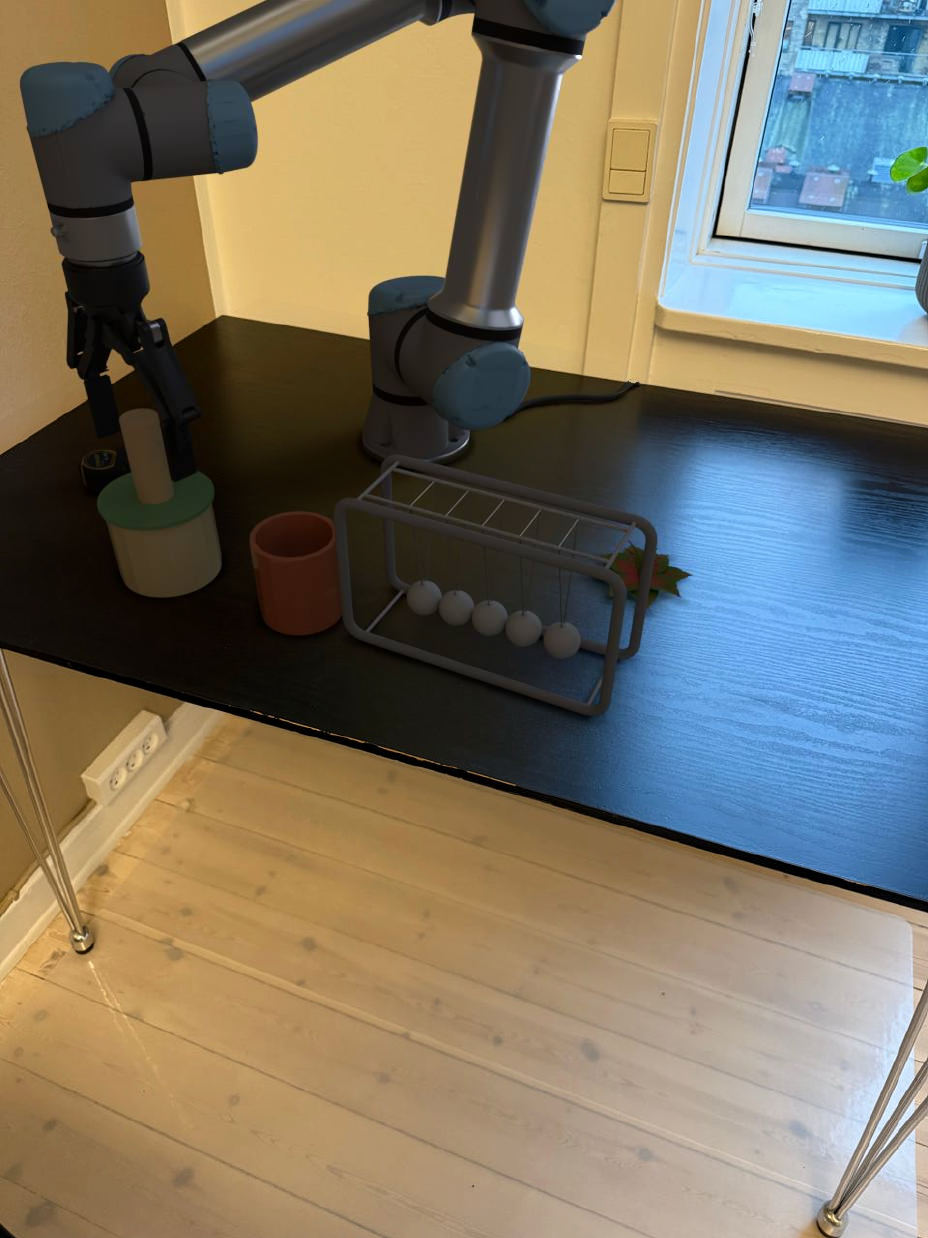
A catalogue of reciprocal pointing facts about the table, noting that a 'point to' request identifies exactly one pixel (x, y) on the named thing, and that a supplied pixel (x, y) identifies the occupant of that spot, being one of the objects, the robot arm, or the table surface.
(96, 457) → the tape measure
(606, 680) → the newton's cradle
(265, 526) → the cup
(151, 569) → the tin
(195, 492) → the lid
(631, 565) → the red green leaf
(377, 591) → the table surface
